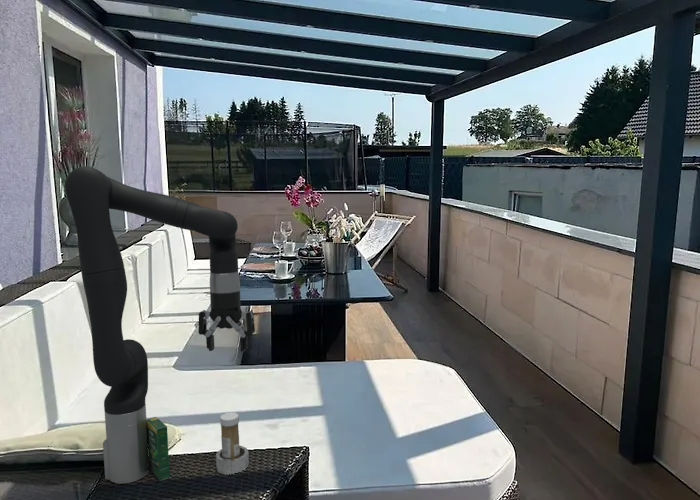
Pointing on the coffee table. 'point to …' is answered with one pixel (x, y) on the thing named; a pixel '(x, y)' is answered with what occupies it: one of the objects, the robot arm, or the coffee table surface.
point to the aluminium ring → (232, 462)
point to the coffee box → (158, 448)
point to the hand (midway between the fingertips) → (227, 350)
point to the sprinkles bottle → (230, 435)
